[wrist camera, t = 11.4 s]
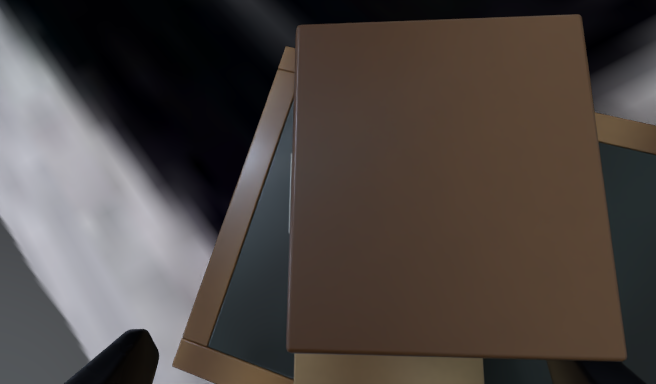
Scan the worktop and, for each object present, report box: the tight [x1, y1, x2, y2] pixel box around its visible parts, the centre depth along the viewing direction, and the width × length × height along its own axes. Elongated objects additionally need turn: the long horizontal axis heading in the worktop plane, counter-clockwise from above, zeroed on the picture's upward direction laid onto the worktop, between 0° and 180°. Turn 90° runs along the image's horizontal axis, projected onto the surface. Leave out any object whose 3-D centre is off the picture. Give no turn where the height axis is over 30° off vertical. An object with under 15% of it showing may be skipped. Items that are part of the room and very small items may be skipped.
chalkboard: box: [172, 47, 656, 384], centre depth 17 cm, size 24×15×1 cm, turn 72°
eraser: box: [286, 14, 627, 384], centre depth 10 cm, size 6×11×13 cm, turn 179°
